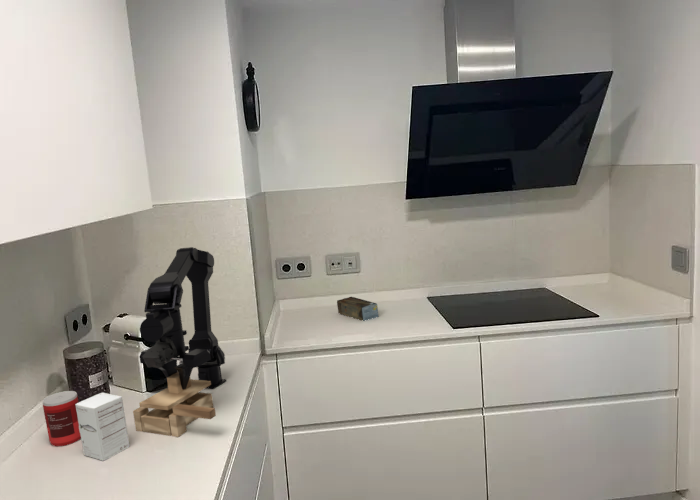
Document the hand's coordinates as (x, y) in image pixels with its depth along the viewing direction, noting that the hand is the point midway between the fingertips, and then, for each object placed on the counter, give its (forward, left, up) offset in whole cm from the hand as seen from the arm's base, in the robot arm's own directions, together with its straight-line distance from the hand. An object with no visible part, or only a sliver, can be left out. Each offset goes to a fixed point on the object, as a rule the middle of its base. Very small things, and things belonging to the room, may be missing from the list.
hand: (179, 388), depth 142 cm
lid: (+1, 0, -1) cm, 2 cm away
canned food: (+17, -21, -8) cm, 29 cm away
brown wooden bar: (+8, +11, -2) cm, 14 cm away
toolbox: (+1, 0, -8) cm, 8 cm away
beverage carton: (-98, +6, -8) cm, 98 cm away
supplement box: (+19, -5, -8) cm, 22 cm away
